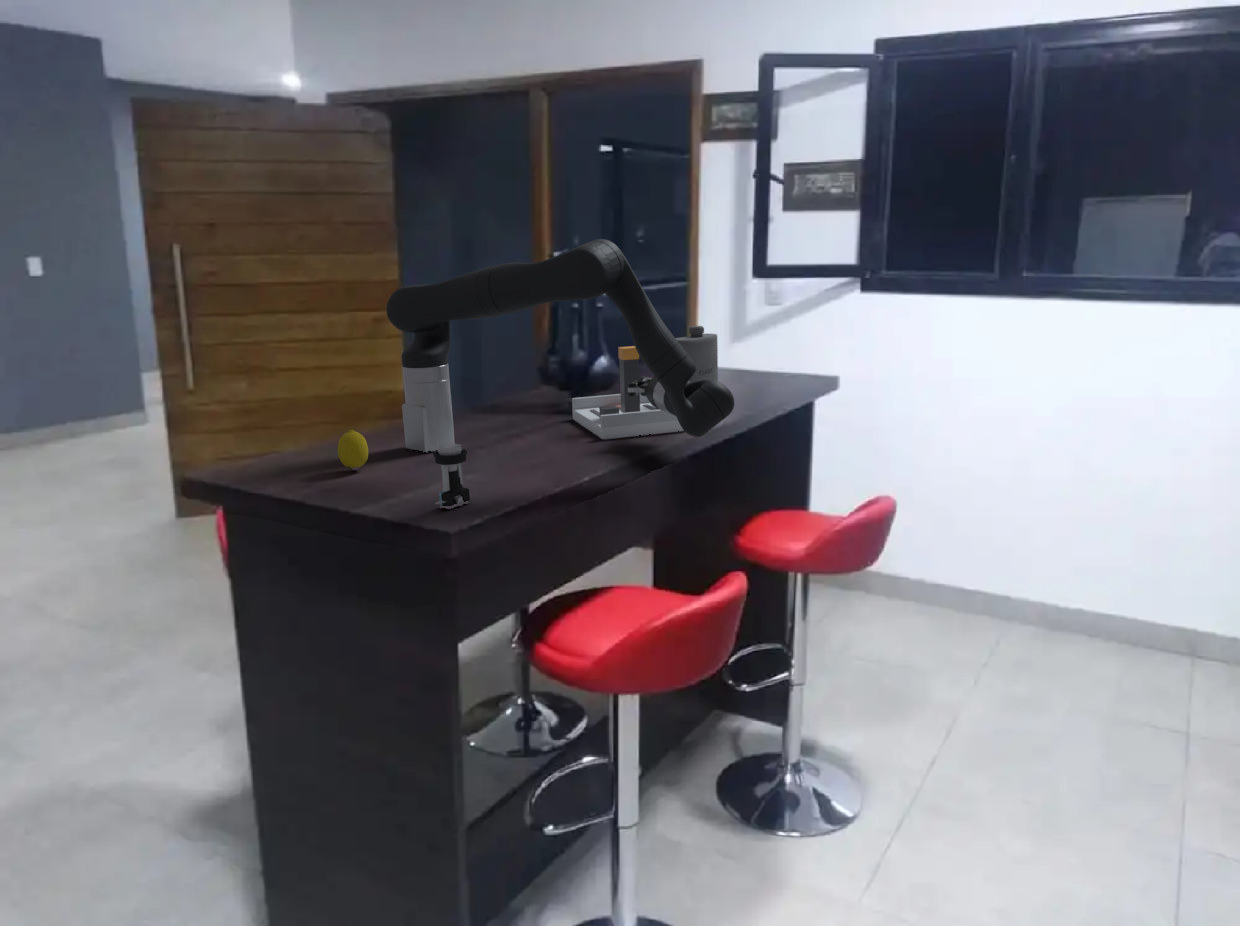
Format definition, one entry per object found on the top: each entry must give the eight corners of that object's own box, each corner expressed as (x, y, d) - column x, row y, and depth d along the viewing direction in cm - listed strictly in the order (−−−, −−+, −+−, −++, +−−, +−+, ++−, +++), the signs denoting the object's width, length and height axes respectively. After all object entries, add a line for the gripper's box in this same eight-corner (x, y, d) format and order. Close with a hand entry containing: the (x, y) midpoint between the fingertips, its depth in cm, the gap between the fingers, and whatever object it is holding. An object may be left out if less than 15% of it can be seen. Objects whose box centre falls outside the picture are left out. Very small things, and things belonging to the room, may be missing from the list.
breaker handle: (640, 412, 202) (638, 347, 198) (625, 414, 201) (622, 348, 197) (636, 410, 205) (634, 346, 201) (620, 411, 204) (618, 347, 200)
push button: (448, 515, 142) (442, 453, 140) (424, 510, 145) (419, 449, 143) (478, 504, 147) (473, 444, 145) (454, 499, 150) (450, 441, 148)
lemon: (345, 467, 174) (341, 427, 172) (374, 467, 174) (369, 426, 172) (336, 475, 169) (331, 433, 167) (365, 474, 169) (360, 432, 167)
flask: (687, 416, 212) (686, 330, 207) (668, 413, 216) (666, 329, 211) (724, 405, 223) (724, 323, 218) (705, 403, 226) (704, 322, 221)
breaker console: (691, 430, 196) (690, 405, 195) (602, 439, 191) (601, 413, 189) (653, 411, 219) (652, 388, 217) (572, 419, 213) (571, 396, 211)
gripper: (703, 372, 177) (671, 361, 193) (639, 377, 173) (612, 365, 189) (703, 410, 179) (672, 396, 195) (640, 416, 175) (613, 401, 191)
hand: (642, 381), depth 192 cm, fingers closed
